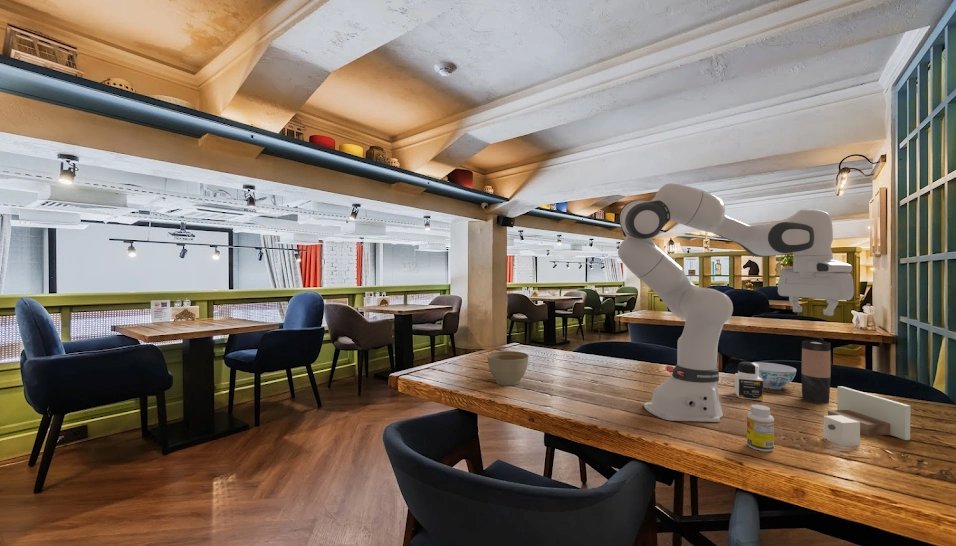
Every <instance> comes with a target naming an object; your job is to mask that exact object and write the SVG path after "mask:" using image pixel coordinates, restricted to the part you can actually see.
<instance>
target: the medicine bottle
mask: <svg viewBox="0 0 956 546" xmlns="http://www.w3.org/2000/svg"><path fill="white" fill-rule="evenodd" d="M737 369H738V370H737V373H734V394H735V395H736V396H737V397H738V399H744V400H754V401H763V400H764V387H763V380H762V379H761V378H760V377H759V365H758V364H756V363H753V362H751V361H739V362H738V368H737Z"/></svg>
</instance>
